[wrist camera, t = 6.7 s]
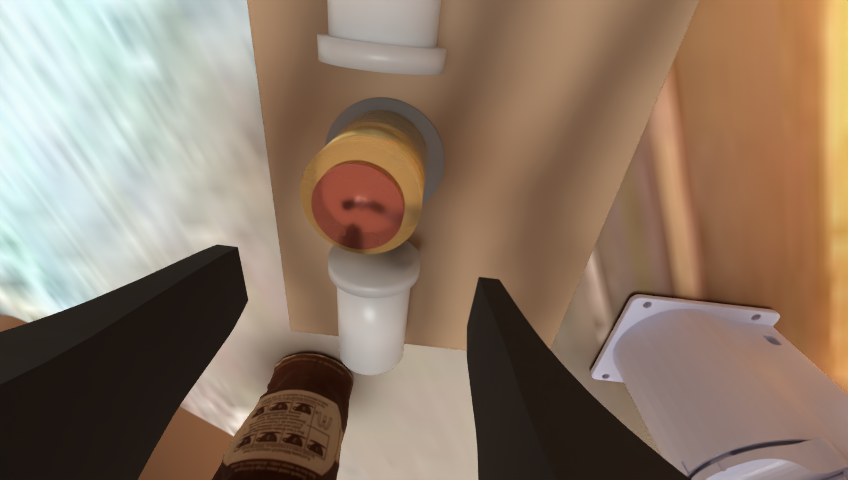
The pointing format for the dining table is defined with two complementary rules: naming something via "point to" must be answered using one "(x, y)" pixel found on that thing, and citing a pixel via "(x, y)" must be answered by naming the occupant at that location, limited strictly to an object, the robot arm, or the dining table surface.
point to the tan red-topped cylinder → (367, 184)
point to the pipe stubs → (399, 268)
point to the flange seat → (415, 116)
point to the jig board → (476, 146)
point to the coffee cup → (293, 424)
